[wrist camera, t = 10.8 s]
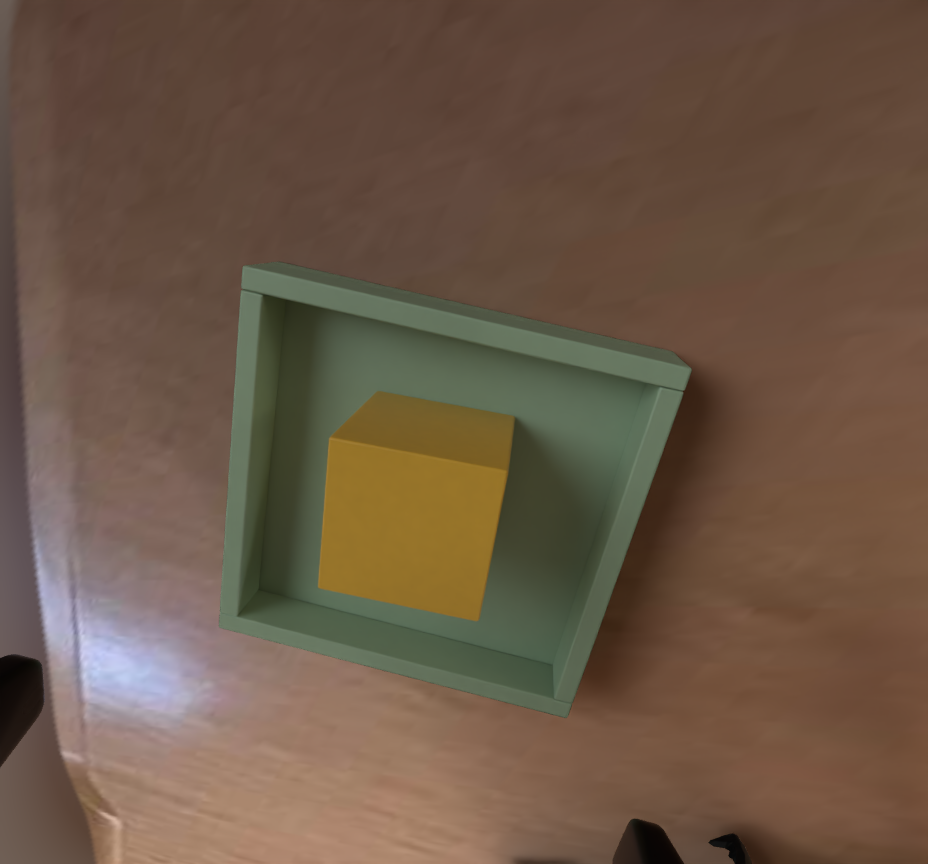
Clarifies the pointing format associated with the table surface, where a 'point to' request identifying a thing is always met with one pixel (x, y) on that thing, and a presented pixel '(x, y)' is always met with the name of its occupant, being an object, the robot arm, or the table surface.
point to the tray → (526, 493)
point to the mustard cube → (414, 503)
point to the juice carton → (733, 848)
